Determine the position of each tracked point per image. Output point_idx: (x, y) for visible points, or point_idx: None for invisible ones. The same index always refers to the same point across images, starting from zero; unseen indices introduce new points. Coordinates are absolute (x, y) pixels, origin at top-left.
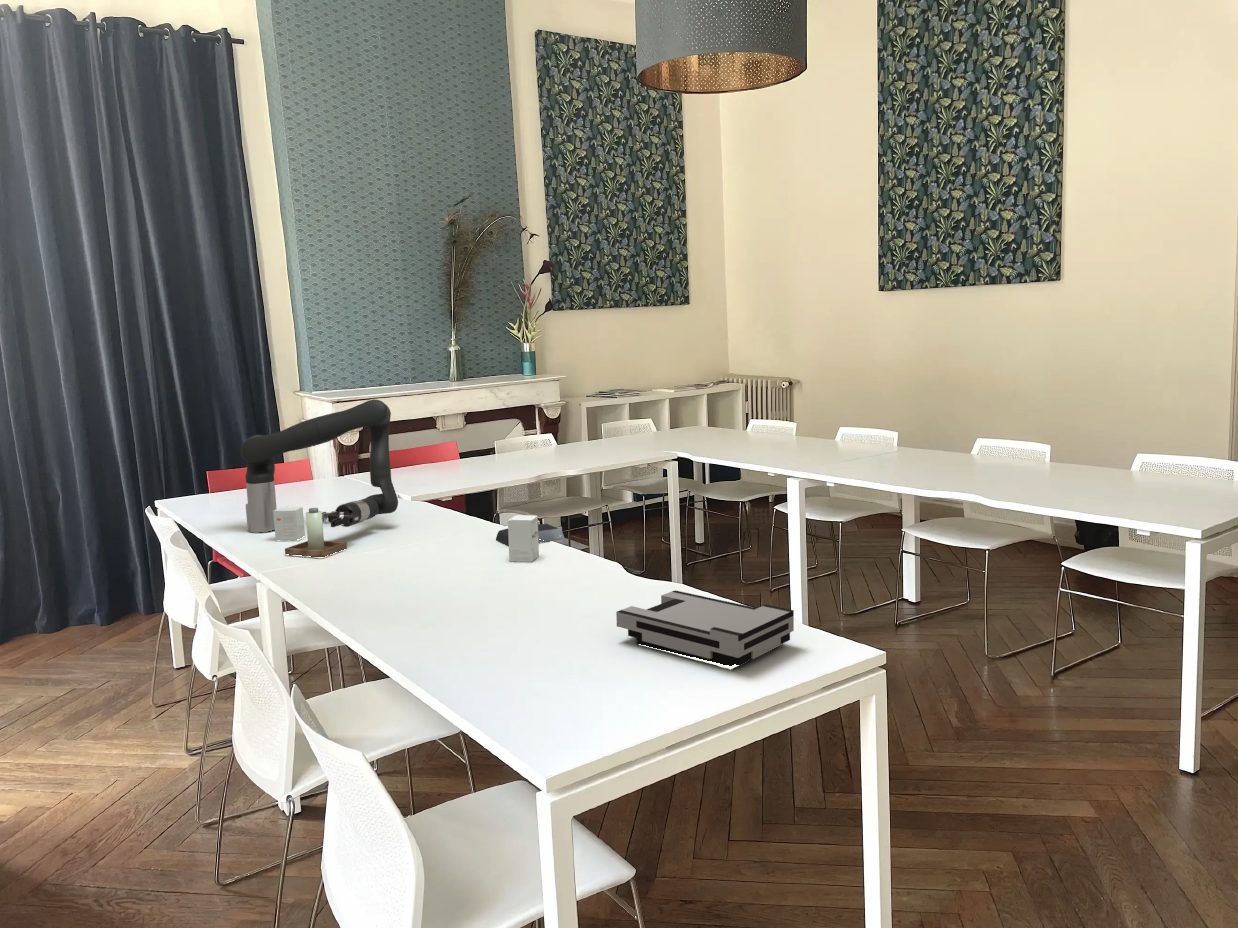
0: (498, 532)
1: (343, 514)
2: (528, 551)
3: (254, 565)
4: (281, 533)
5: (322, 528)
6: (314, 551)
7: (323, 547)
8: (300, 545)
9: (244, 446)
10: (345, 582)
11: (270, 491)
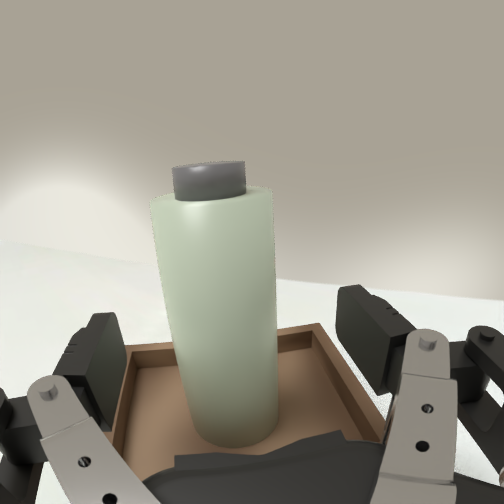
0: None
1: (55, 472)
2: None
3: (286, 282)
4: None
5: (170, 326)
6: (161, 345)
7: (191, 417)
8: (341, 384)
9: None
10: (7, 285)
11: None
